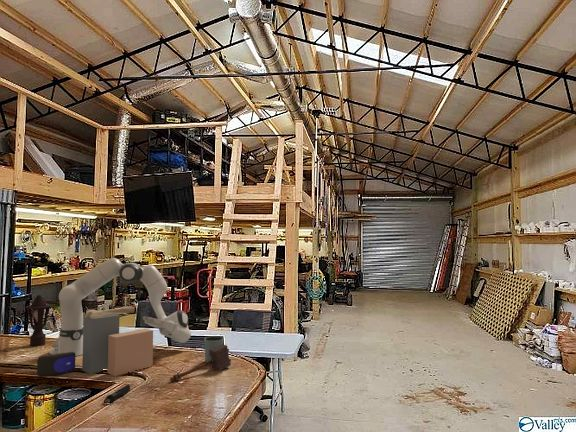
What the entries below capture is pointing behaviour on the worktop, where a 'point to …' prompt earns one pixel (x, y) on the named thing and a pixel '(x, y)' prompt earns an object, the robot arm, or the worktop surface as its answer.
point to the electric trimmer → (117, 394)
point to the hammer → (211, 361)
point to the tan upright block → (130, 351)
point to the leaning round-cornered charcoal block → (55, 364)
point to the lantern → (38, 320)
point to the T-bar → (108, 312)
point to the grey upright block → (97, 342)
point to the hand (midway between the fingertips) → (148, 318)
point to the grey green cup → (211, 345)
